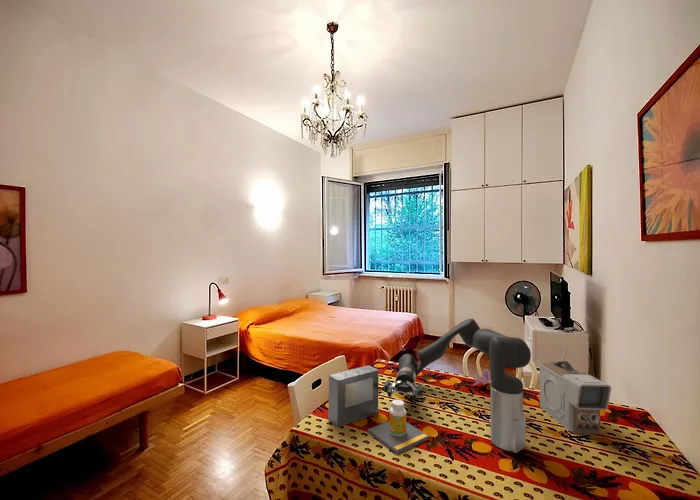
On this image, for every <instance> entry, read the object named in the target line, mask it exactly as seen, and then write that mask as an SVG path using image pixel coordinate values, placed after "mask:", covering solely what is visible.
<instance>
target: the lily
mask: <svg viewBox="0 0 700 500" xmlns="http://www.w3.org/2000/svg"><path fill="white" fill-rule="evenodd" d="M474 380H475V382H474V383H473V385H472V386H476V385H477V384H480V383H483V384H484V385H487V383H488V384H490V386H491V378H490V369H488V368H484V369H483V371H482V372H481V375H480V376H478V377H476V378H475V379H474Z"/></svg>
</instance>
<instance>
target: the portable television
mask: <svg viewBox="0 0 700 500" xmlns="http://www.w3.org/2000/svg"><path fill="white" fill-rule="evenodd" d="M571 333H572V331H569V333H568V338H567V340H566V344H565V346H564V347H565V348H564V350H563V355H562V357H561V360H560V361H550V362H542V363H539V407H540V408H541V410H543V411H545V412H546V413H547V415H549V416H551V418H553V420H555V421H556V422H557V423H558V424H560V425H561V426H562V427H563V428H564V429H566V430H567V431H568V432H570V433H572V434H577V435H579V434H580V435H582V434H583V435H601V411H606V410H607V409H608V408H609V403H610V399H611V398H610V397H611V392H612V386H611V385H609V384H607V383H606V382H604V381H602V380H600V379H598V378H596V377H594V376H592V374H591V375H590V374H587V372H583V371H582V372H581V371H579V370H577V369H575V368H574V367H573V366H572V365H571V364H570V363H569V361H567V360H566V361H565V360H564V359H565V354H566V351H567V347H568V342H569V339H570V336H571Z"/></svg>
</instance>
